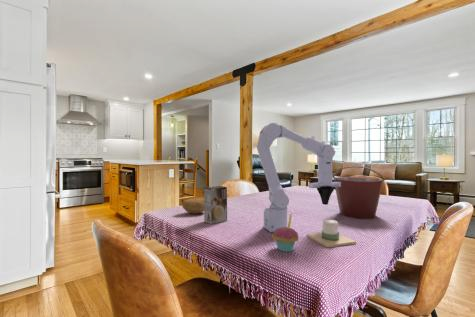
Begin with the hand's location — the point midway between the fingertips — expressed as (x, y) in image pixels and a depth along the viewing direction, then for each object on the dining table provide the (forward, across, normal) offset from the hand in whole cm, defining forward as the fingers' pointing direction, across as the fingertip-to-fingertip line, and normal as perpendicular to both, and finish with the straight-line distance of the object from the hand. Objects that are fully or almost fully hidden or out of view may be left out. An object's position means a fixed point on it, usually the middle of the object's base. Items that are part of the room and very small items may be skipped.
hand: (325, 204), depth 106 cm
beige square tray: (+10, -8, -14) cm, 19 cm away
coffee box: (+10, -43, +23) cm, 50 cm away
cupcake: (+10, -28, -17) cm, 34 cm away
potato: (+10, -50, +41) cm, 65 cm away
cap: (+7, -8, -14) cm, 18 cm away
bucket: (+10, +30, +14) cm, 35 cm away
